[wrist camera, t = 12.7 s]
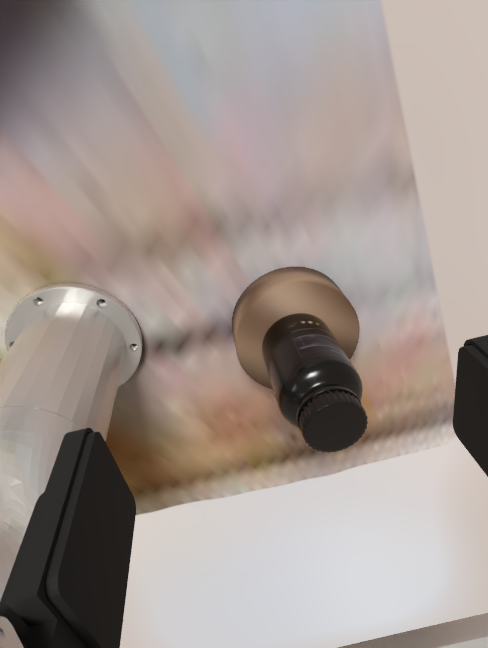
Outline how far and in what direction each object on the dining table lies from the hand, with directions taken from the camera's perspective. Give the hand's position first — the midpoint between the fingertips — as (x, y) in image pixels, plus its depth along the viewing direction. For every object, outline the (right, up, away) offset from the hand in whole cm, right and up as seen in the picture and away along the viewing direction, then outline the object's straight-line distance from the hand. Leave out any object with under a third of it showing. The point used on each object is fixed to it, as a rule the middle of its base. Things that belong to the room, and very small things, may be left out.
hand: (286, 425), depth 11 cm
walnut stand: (+4, +3, +33) cm, 33 cm away
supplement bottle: (+4, +1, +30) cm, 30 cm away
